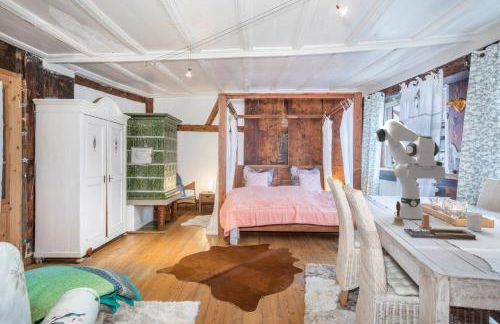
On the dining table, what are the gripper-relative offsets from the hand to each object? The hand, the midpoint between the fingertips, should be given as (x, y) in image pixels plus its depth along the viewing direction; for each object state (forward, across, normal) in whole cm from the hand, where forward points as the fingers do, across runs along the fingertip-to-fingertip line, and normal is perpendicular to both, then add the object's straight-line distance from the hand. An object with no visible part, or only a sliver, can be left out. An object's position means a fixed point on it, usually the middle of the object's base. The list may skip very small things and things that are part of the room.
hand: (425, 186), depth 170 cm
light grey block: (+26, -5, -12) cm, 29 cm away
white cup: (+27, +29, +6) cm, 40 cm away
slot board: (+27, +8, -12) cm, 31 cm away
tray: (+27, -8, -12) cm, 31 cm away
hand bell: (+27, -12, +10) cm, 32 cm away
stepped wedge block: (+27, 0, 0) cm, 27 cm away
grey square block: (+26, -9, -12) cm, 30 cm away
